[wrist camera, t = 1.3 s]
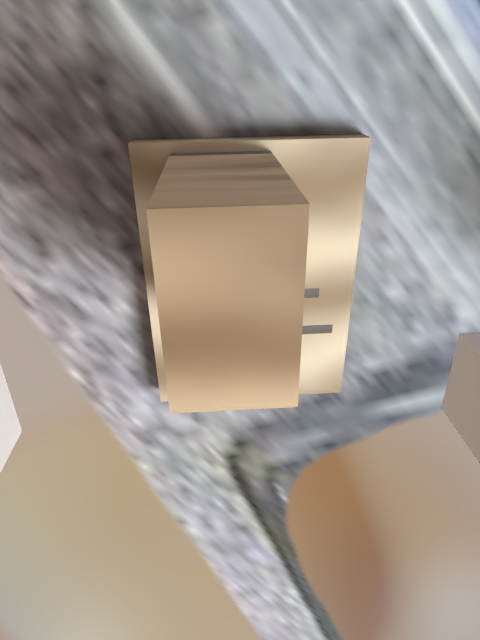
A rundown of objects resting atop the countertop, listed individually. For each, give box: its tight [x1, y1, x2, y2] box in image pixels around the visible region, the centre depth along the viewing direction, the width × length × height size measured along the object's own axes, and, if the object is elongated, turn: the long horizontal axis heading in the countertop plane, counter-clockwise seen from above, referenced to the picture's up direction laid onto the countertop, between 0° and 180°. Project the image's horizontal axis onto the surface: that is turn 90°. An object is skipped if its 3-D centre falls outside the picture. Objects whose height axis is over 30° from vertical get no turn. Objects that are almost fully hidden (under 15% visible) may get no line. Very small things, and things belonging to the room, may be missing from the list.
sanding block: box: [146, 151, 310, 413], centre depth 20 cm, size 8×5×10 cm, turn 1°
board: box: [128, 134, 371, 401], centre depth 27 cm, size 16×12×1 cm
